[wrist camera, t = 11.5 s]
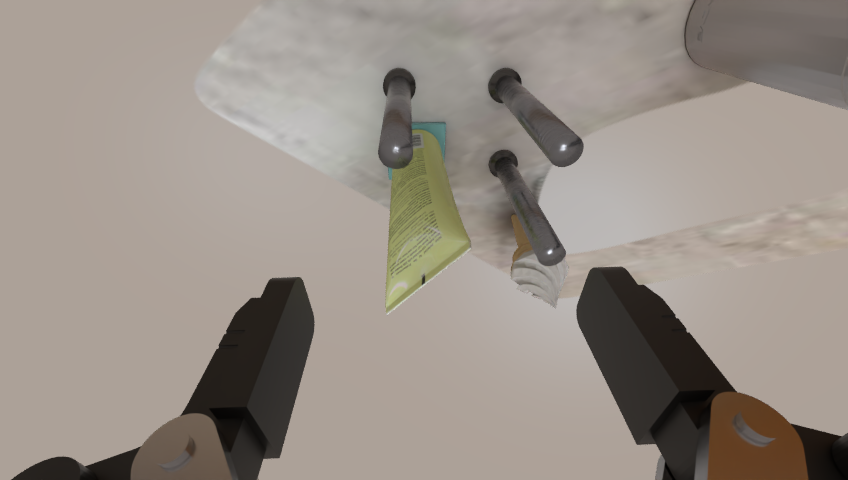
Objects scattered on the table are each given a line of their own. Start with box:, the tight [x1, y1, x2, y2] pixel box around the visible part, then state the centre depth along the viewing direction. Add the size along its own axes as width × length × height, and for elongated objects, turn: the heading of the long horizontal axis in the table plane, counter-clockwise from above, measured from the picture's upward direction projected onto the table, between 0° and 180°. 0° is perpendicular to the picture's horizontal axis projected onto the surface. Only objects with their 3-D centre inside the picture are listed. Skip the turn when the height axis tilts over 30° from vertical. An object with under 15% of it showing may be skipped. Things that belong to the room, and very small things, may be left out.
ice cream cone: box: [511, 215, 569, 308], centre depth 36 cm, size 6×6×15 cm
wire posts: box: [378, 68, 583, 266], centre depth 29 cm, size 14×11×16 cm
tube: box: [385, 129, 471, 315], centre depth 28 cm, size 6×5×20 cm
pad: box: [388, 122, 446, 179], centre depth 36 cm, size 6×6×1 cm
